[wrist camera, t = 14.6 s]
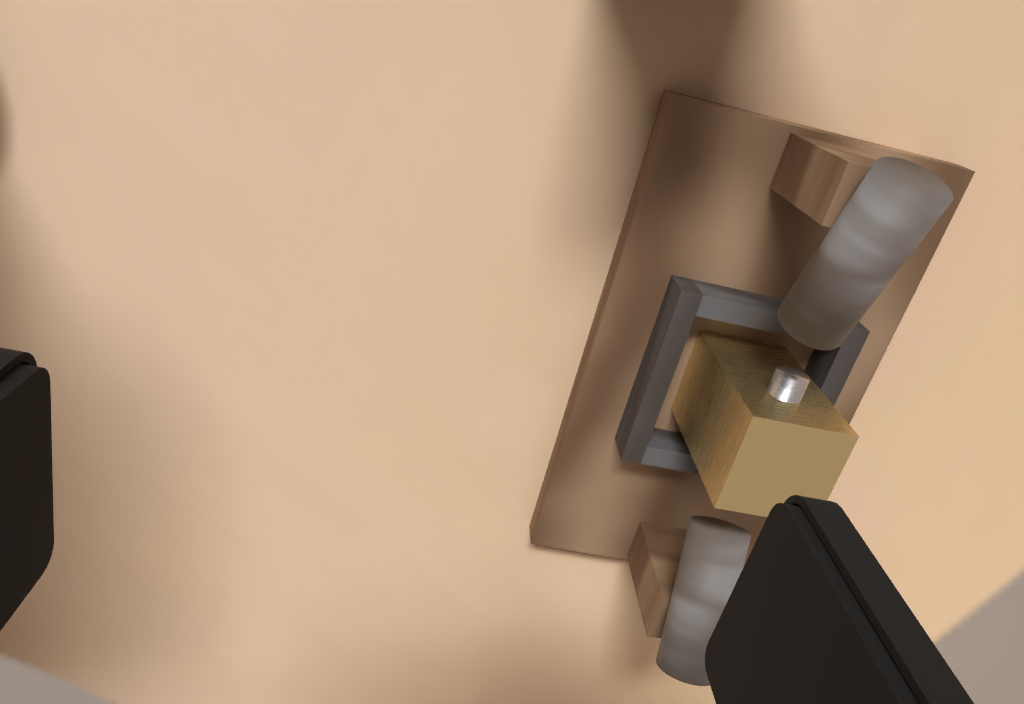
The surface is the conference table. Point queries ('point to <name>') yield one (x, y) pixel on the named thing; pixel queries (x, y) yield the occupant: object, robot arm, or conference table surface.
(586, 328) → the conference table surface
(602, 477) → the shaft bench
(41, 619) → the conference table surface
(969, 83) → the conference table surface
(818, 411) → the block
